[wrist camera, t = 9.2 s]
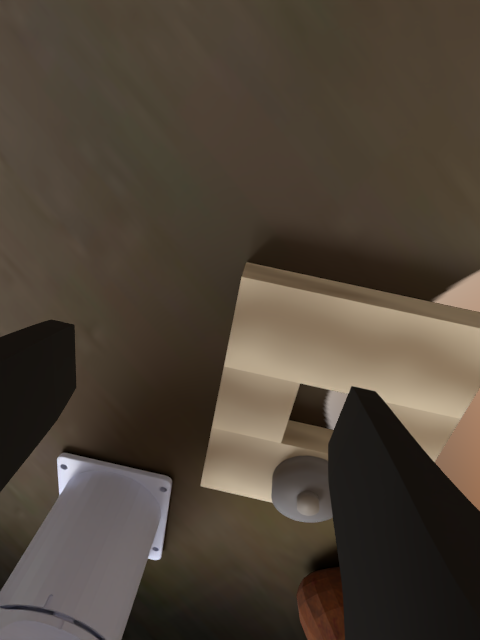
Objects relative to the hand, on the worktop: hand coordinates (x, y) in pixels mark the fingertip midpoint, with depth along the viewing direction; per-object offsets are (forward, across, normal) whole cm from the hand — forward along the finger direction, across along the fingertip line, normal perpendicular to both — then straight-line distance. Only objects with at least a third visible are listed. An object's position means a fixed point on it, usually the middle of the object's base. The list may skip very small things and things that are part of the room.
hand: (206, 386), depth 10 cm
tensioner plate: (+10, -6, +7) cm, 14 cm away
